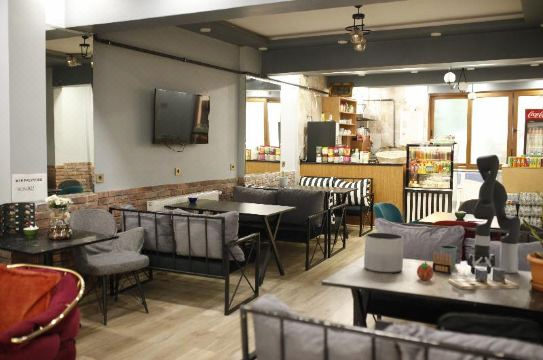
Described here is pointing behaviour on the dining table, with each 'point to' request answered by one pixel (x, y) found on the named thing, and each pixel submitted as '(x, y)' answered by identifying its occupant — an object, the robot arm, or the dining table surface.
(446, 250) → the grey cup
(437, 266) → the ammunition clip
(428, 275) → the fruit
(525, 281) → the dining table surface
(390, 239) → the planter
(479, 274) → the slider
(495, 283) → the gauge board
